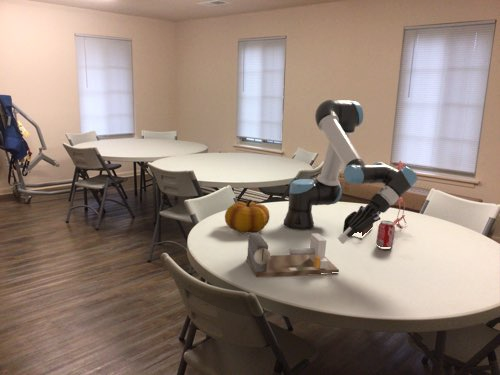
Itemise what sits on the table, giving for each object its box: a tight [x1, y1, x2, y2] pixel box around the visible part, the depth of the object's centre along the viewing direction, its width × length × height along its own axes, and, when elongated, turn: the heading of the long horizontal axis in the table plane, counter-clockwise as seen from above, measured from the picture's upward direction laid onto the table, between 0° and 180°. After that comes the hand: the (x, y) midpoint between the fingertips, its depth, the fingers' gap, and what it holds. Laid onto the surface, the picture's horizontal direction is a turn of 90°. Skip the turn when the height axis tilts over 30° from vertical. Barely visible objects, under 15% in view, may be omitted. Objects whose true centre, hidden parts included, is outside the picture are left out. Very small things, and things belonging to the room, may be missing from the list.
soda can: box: [376, 220, 396, 248], centre depth 191 cm, size 7×7×12 cm
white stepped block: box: [288, 233, 329, 269], centre depth 163 cm, size 12×12×10 cm
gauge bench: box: [246, 232, 340, 278], centre depth 164 cm, size 33×16×12 cm, turn 103°
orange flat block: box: [314, 255, 320, 269], centre depth 160 cm, size 1×3×4 cm, turn 13°
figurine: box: [392, 160, 417, 228], centre depth 224 cm, size 15×26×35 cm, turn 143°
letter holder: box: [342, 210, 374, 236], centre depth 212 cm, size 10×20×14 cm, turn 151°
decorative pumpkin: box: [224, 199, 270, 234], centre depth 204 cm, size 20×22×15 cm
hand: (340, 241), depth 167 cm, fingers closed
